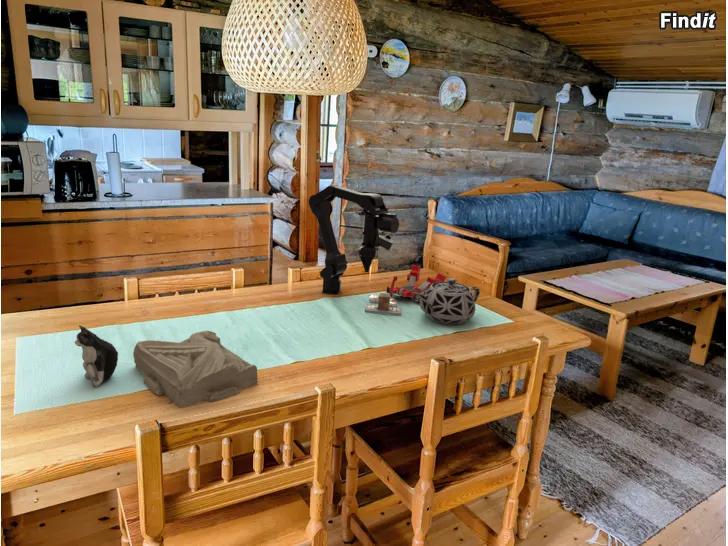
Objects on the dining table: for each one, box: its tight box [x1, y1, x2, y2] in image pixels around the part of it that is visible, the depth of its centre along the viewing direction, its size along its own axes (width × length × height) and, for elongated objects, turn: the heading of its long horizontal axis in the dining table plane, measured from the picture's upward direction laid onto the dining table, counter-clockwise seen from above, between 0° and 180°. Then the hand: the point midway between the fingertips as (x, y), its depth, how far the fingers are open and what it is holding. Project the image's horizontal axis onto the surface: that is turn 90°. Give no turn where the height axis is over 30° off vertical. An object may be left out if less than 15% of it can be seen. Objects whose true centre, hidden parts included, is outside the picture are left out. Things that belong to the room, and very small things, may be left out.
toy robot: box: [385, 264, 447, 303], centre depth 228 cm, size 18×10×30 cm
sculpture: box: [133, 330, 259, 409], centre depth 147 cm, size 25×31×9 cm
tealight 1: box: [368, 294, 379, 304], centre depth 215 cm, size 4×4×3 cm
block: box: [377, 292, 392, 310], centre depth 205 cm, size 4×4×5 cm
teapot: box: [414, 277, 481, 325], centre depth 200 cm, size 19×31×15 cm, turn 123°
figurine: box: [74, 324, 119, 388], centre depth 141 cm, size 10×10×15 cm
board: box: [364, 303, 403, 317], centre depth 206 cm, size 13×6×1 cm, turn 83°
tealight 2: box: [389, 300, 399, 307], centre depth 210 cm, size 4×4×3 cm
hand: (368, 268), depth 211 cm, fingers open, 9 cm apart
